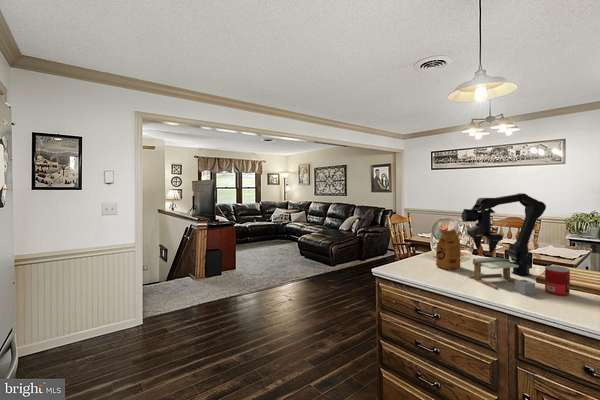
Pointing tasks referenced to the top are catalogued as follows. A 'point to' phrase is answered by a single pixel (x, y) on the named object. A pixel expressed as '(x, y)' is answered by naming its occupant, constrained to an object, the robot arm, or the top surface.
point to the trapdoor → (495, 263)
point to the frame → (478, 276)
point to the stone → (524, 287)
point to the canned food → (557, 280)
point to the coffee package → (448, 250)
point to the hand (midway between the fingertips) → (484, 250)
